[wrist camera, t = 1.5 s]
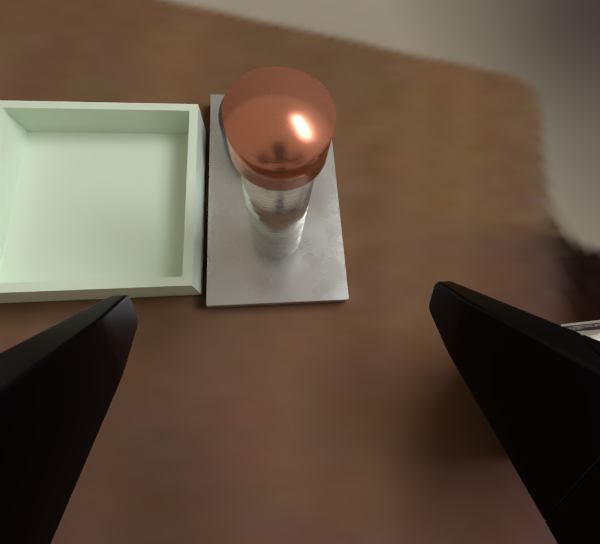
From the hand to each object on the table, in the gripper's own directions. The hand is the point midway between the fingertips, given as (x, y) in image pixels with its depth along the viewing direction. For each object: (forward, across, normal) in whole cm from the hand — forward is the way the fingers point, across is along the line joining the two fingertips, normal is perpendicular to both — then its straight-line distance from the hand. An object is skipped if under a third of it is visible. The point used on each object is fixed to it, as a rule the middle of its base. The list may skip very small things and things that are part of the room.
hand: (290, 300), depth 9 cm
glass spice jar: (+14, 0, +4) cm, 14 cm away
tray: (+16, +12, +2) cm, 21 cm away
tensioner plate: (+17, 0, +2) cm, 17 cm away
